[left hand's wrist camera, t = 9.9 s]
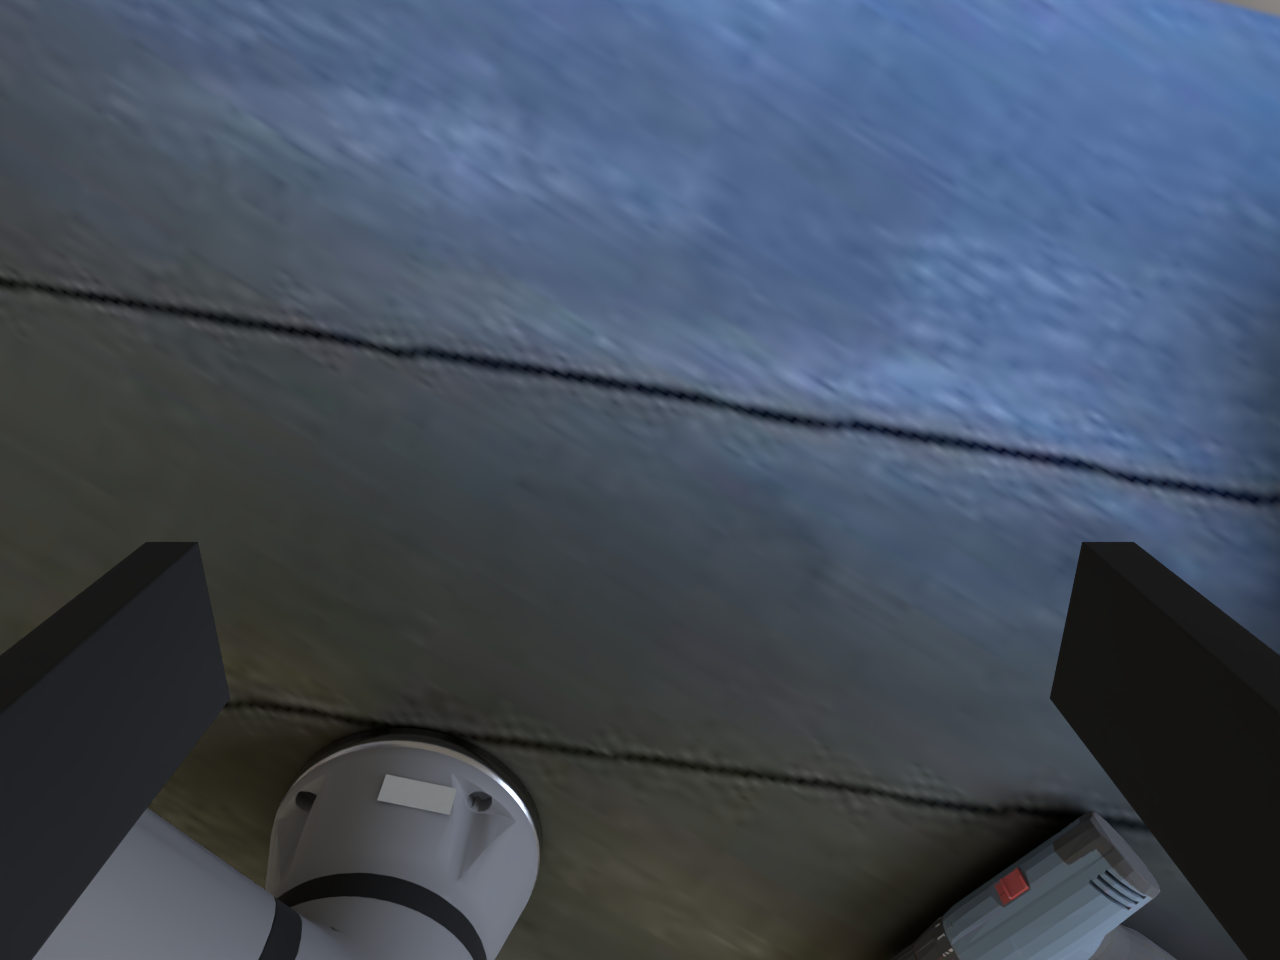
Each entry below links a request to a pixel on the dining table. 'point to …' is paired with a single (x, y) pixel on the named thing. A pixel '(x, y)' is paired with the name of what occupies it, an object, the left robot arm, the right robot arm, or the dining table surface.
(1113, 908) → the power drill
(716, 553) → the dining table surface
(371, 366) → the dining table surface
